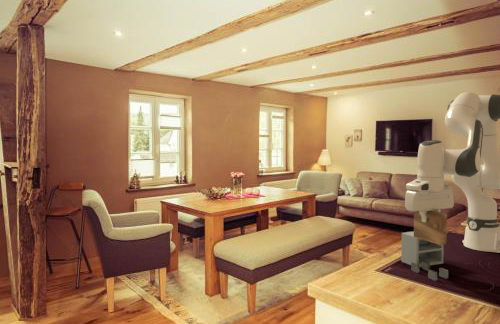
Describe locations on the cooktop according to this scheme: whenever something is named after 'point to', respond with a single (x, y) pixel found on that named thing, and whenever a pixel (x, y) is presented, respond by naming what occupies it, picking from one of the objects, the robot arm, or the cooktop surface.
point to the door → (431, 227)
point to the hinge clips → (431, 273)
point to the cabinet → (420, 250)
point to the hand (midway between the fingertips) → (429, 221)
